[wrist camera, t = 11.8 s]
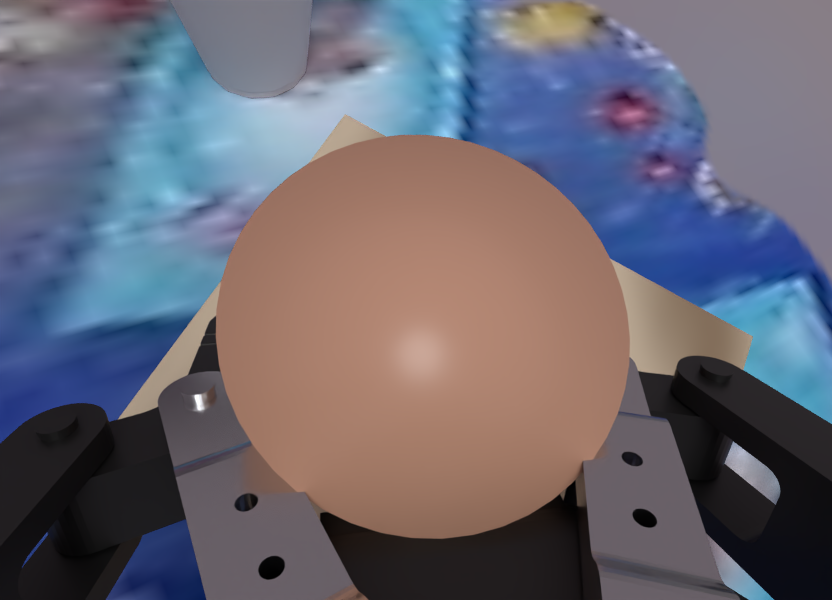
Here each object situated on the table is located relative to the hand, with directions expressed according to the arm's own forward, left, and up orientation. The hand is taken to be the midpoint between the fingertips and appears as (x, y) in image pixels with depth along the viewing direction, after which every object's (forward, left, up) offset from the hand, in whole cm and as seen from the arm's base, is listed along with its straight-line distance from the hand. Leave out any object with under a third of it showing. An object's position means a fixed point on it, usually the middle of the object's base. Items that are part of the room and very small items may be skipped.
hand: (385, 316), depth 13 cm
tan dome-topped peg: (+1, -1, -5) cm, 5 cm away
